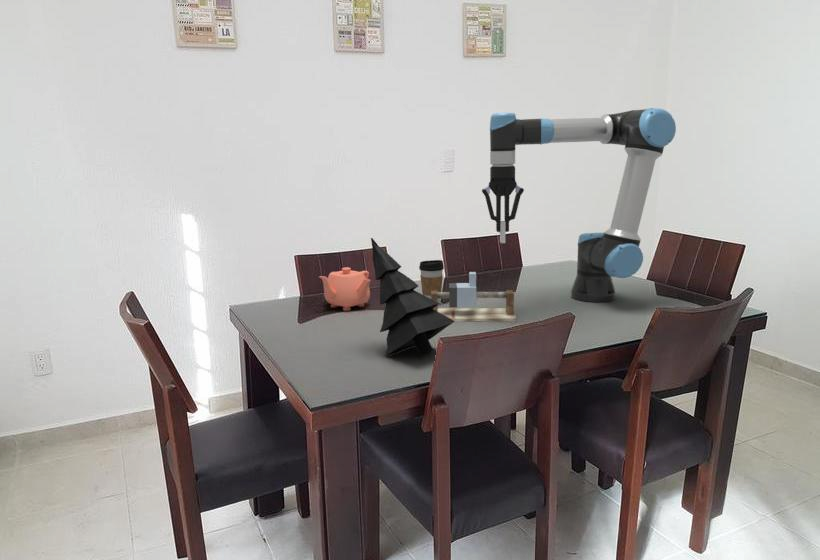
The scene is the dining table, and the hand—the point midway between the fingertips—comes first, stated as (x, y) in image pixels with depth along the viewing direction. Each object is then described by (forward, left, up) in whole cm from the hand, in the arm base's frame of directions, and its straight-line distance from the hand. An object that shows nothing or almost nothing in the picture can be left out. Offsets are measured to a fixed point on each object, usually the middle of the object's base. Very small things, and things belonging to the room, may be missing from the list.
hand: (502, 242), depth 195 cm
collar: (+15, 0, -20) cm, 25 cm away
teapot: (+51, -12, -24) cm, 58 cm away
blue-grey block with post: (+11, 0, -20) cm, 23 cm away
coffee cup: (+22, -16, -24) cm, 37 cm away
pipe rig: (+9, 0, -24) cm, 26 cm away
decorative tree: (+29, +33, -24) cm, 50 cm away
